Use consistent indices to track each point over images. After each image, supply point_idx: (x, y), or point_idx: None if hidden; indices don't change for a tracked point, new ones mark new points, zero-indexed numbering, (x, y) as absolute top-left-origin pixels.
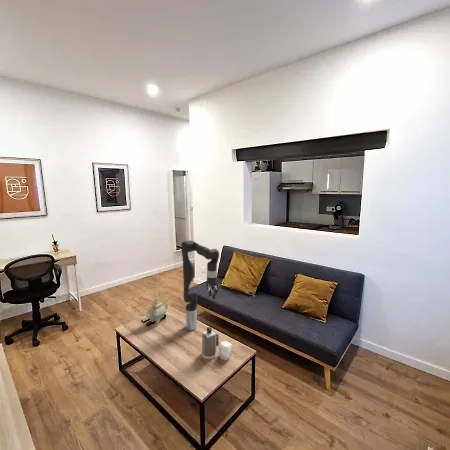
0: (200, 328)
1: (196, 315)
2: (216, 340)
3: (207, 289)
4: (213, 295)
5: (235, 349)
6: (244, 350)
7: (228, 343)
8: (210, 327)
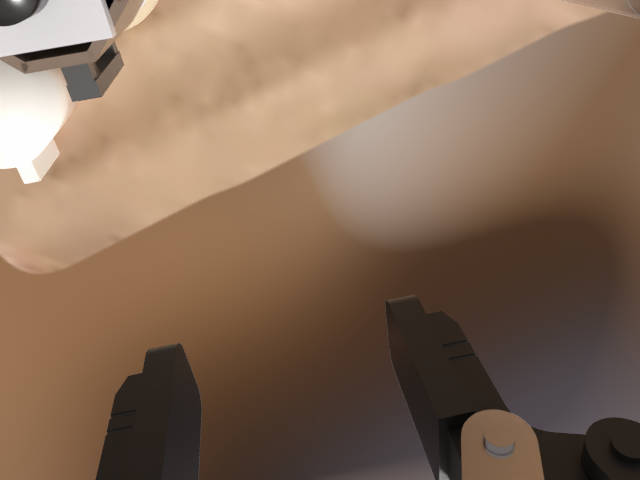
0: (499, 20)
1: (605, 2)
2: (102, 63)
3: (598, 443)
4: (114, 472)
5: (100, 191)
6: (72, 244)
7: (3, 155)
8: (24, 14)
